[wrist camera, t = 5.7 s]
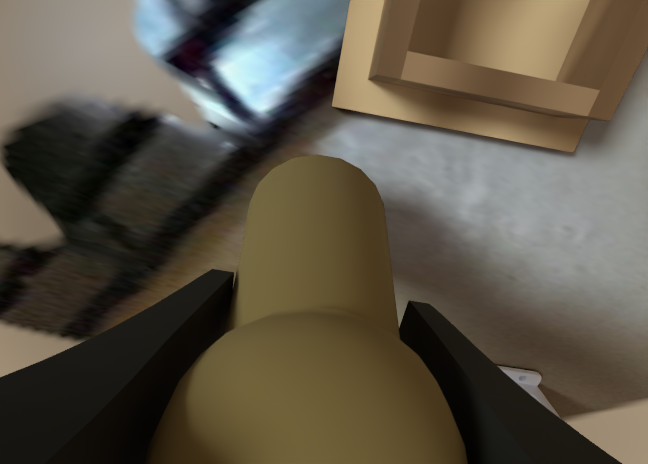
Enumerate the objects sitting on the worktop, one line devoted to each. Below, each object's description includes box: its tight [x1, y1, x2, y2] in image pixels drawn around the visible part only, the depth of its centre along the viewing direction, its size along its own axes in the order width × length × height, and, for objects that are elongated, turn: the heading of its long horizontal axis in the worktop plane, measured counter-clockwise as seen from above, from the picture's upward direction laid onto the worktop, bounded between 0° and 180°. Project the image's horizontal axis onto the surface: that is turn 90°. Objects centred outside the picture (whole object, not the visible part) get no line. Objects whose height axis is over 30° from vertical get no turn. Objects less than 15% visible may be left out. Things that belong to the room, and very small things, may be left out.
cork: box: [144, 155, 468, 464], centre depth 9 cm, size 6×6×11 cm
